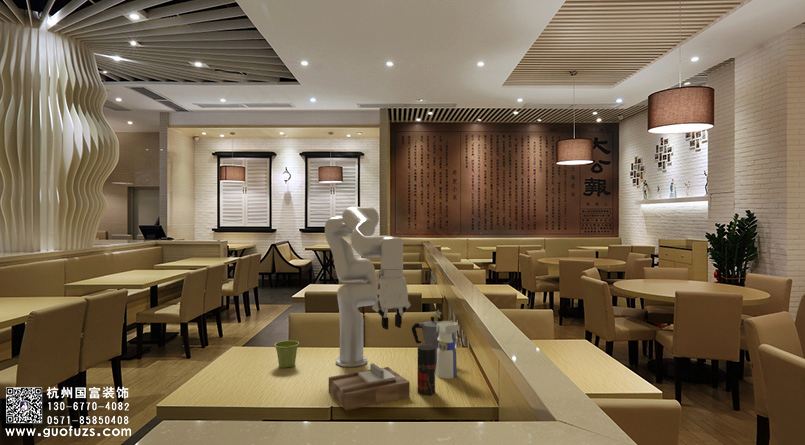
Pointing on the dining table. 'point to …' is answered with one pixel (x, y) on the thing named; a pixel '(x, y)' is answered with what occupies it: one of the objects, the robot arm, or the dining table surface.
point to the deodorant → (426, 370)
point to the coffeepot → (428, 334)
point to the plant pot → (286, 353)
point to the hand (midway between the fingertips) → (391, 327)
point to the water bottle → (446, 349)
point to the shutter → (375, 374)
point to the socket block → (366, 390)
